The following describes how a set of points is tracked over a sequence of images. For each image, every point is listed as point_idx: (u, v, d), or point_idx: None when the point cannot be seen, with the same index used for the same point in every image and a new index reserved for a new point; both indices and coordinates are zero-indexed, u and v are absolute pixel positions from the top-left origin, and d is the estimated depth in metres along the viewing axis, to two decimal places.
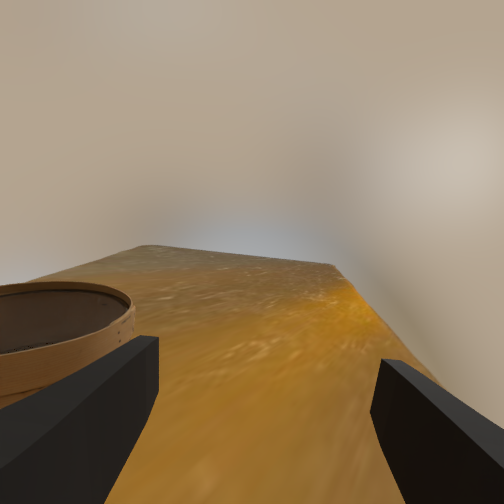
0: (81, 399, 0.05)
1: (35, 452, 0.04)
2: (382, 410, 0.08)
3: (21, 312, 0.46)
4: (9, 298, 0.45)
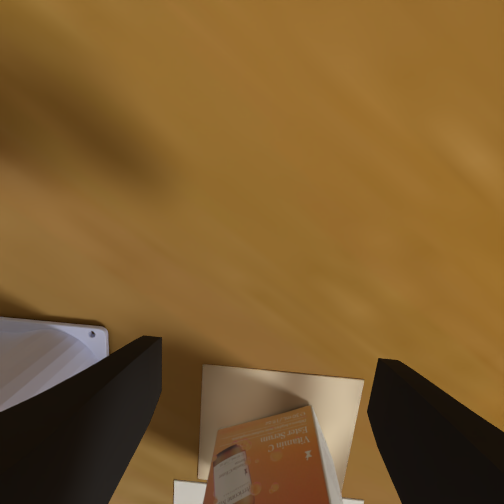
0: (86, 400, 0.05)
1: (41, 453, 0.04)
2: (379, 410, 0.08)
3: None
4: None
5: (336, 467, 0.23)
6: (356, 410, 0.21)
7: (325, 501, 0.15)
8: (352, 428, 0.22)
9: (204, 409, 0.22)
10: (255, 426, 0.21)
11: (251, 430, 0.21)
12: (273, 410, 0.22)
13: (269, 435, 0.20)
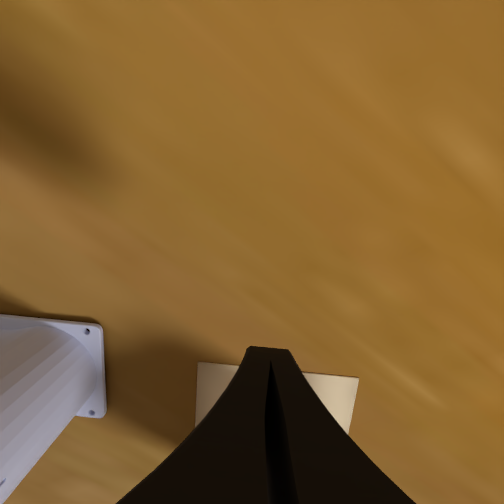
0: (262, 418, 0.05)
1: None
2: None
3: None
4: None
5: None
6: (351, 408, 0.21)
7: None
8: (347, 426, 0.22)
9: (199, 407, 0.22)
10: None
11: None
12: None
13: None
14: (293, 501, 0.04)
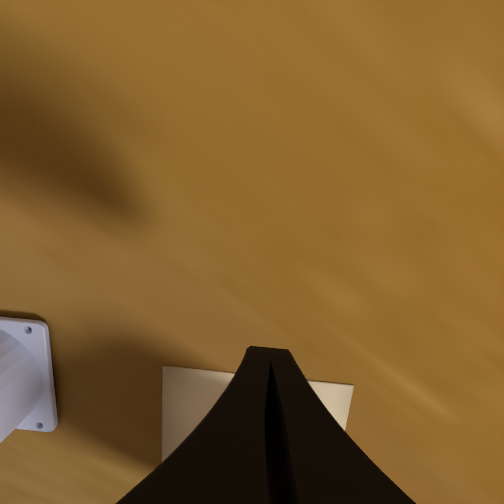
0: (262, 417, 0.05)
1: None
2: None
3: None
4: None
5: None
6: (344, 421, 0.18)
7: None
8: None
9: (166, 419, 0.19)
10: None
11: None
12: None
13: None
14: (293, 501, 0.04)
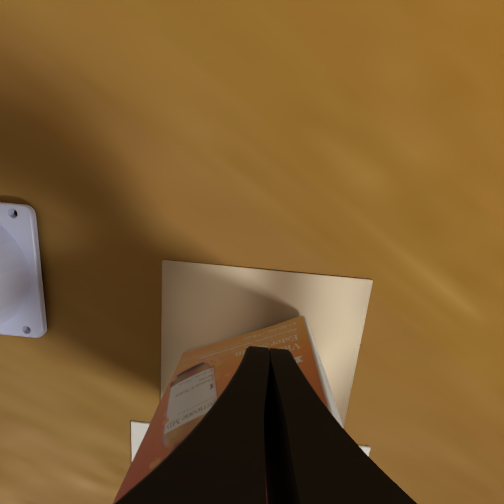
0: (261, 417, 0.05)
1: None
2: (265, 398, 0.08)
3: None
4: None
5: (335, 402, 0.18)
6: (362, 323, 0.16)
7: None
8: (356, 348, 0.17)
9: (166, 323, 0.17)
10: (230, 343, 0.16)
11: (225, 347, 0.16)
12: (254, 324, 0.17)
13: None
14: (294, 501, 0.04)
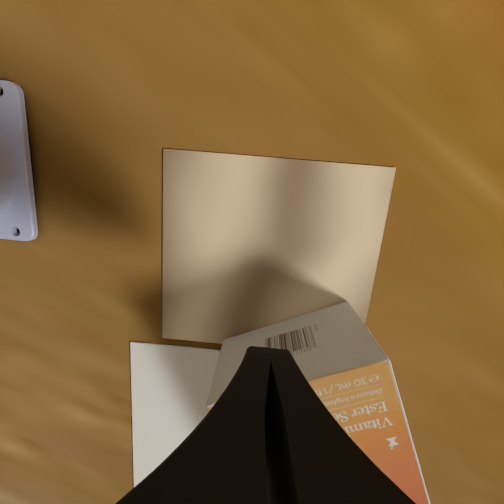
0: (262, 418, 0.05)
1: None
2: None
3: None
4: None
5: None
6: (383, 219, 0.15)
7: (419, 488, 0.12)
8: (377, 250, 0.15)
9: (167, 225, 0.16)
10: None
11: None
12: (265, 223, 0.15)
13: None
14: (293, 501, 0.04)
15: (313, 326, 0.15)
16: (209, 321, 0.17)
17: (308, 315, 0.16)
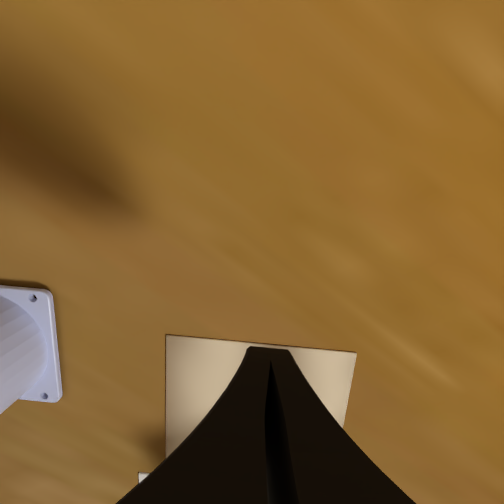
0: (262, 417, 0.05)
1: None
2: None
3: None
4: None
5: None
6: (348, 389, 0.18)
7: None
8: (343, 411, 0.19)
9: (170, 389, 0.19)
10: None
11: None
12: None
13: None
14: (293, 501, 0.04)
15: None
16: None
17: None
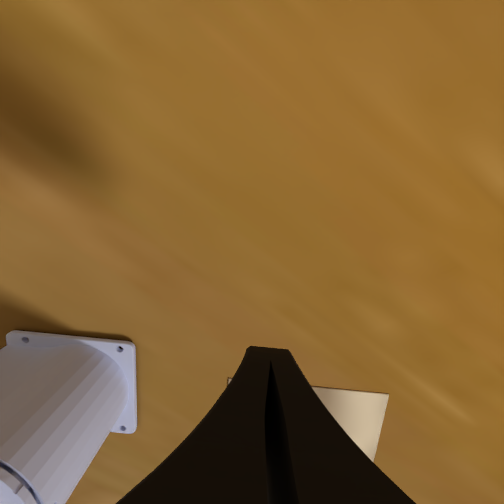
0: (262, 417, 0.05)
1: None
2: None
3: None
4: None
5: None
6: (380, 424, 0.22)
7: None
8: (376, 441, 0.22)
9: None
10: None
11: None
12: None
13: None
14: (293, 501, 0.04)
15: None
16: None
17: None
